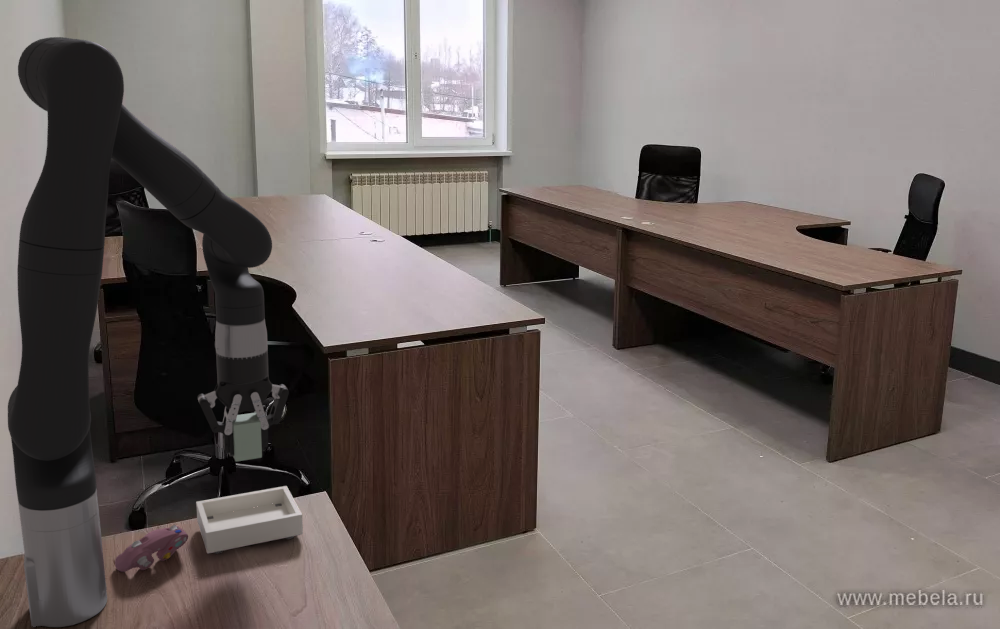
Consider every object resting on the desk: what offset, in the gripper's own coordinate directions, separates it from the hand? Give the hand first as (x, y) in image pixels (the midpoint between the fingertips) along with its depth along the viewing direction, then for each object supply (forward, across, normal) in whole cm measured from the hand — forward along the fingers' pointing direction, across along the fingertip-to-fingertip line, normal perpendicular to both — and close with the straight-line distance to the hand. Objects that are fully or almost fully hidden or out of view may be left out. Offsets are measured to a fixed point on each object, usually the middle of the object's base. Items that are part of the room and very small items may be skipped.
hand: (246, 451), depth 130 cm
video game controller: (+15, -15, -3) cm, 21 cm away
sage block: (+1, 0, 0) cm, 1 cm away
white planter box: (+15, 0, 0) cm, 15 cm away
